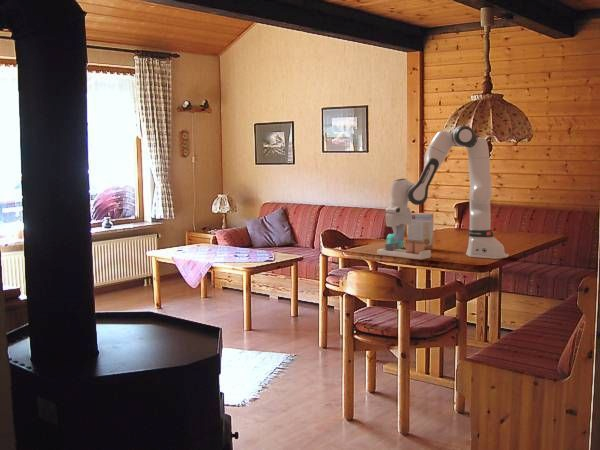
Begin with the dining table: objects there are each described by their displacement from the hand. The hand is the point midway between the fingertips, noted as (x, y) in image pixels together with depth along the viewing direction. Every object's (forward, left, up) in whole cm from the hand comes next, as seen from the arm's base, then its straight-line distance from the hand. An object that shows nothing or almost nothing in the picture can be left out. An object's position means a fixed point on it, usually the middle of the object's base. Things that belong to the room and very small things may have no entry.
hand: (398, 233), depth 385 cm
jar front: (-13, 0, -12) cm, 18 cm away
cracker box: (+4, -28, -12) cm, 31 cm away
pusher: (+7, -3, -12) cm, 14 cm away
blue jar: (0, 0, -4) cm, 4 cm away
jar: (-8, 0, -12) cm, 14 cm away
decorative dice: (+18, -22, -12) cm, 31 cm away
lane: (-3, 0, -12) cm, 12 cm away
